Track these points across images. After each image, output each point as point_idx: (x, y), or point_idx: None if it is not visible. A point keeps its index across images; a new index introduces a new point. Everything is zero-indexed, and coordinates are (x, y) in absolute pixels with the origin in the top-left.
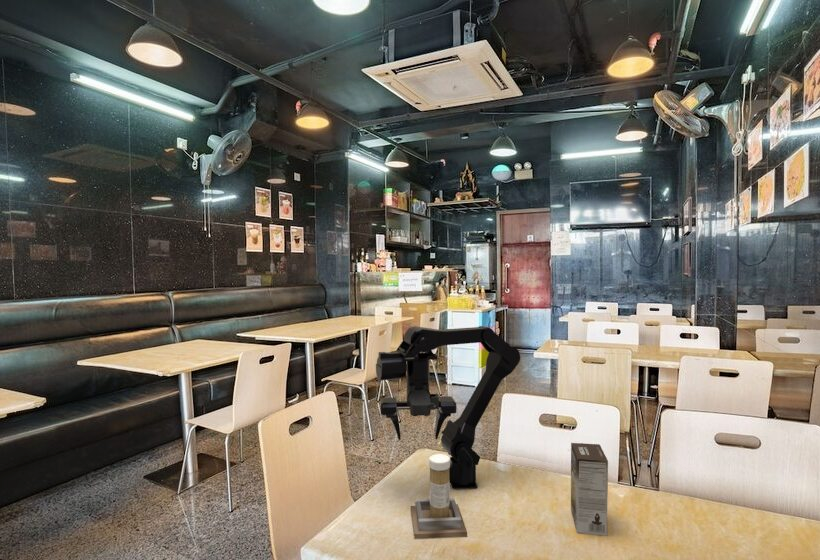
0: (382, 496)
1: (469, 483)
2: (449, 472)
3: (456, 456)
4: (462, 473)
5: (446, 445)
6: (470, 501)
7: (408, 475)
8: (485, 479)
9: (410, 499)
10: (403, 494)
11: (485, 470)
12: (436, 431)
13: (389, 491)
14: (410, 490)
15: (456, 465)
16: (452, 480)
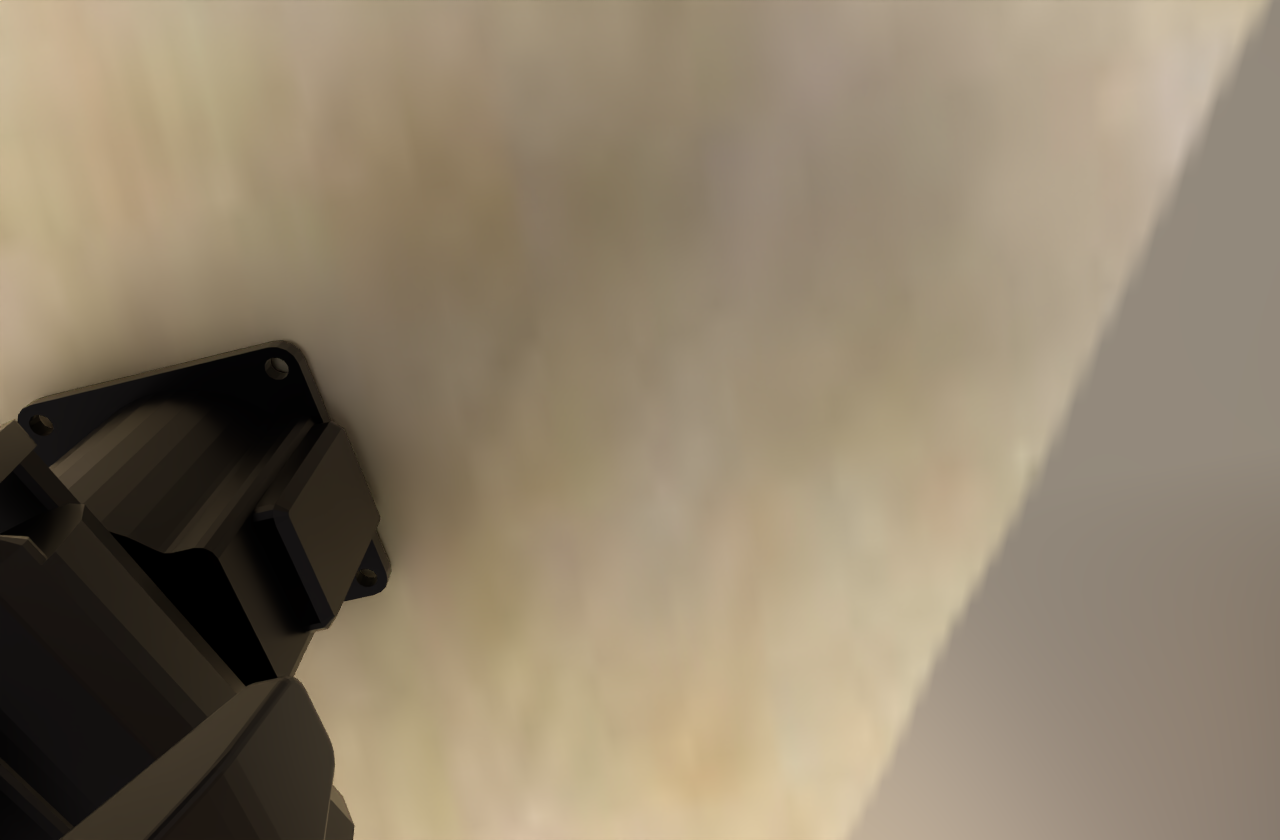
0: (1114, 30)
1: (97, 427)
2: (303, 482)
3: (28, 534)
4: (110, 456)
5: (174, 711)
6: (24, 97)
7: (837, 558)
8: None
9: (756, 15)
10: (855, 127)
11: None
12: (144, 836)
13: (1031, 171)
14: (780, 238)
15: (156, 522)
16: (292, 430)
